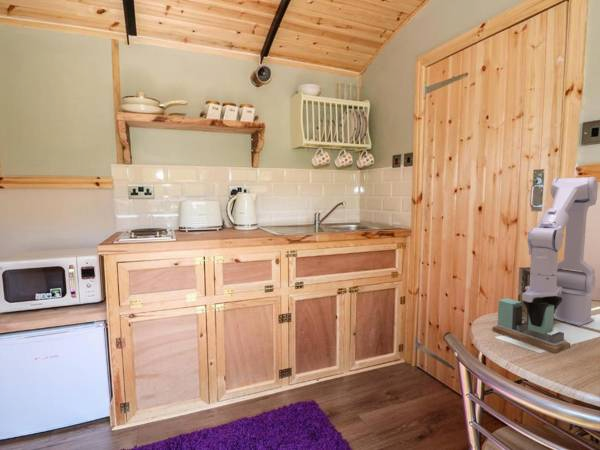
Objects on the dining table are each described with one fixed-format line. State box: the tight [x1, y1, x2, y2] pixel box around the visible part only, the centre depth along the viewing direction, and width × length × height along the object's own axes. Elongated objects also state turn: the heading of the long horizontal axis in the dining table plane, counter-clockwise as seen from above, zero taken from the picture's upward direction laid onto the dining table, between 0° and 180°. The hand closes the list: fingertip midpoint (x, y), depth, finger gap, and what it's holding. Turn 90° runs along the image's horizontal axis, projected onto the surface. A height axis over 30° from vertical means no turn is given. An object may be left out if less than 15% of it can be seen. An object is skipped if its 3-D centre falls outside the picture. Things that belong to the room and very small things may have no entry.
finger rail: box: [492, 297, 571, 354], centre depth 92 cm, size 7×16×9 cm, turn 27°
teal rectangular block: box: [527, 304, 555, 334], centre depth 89 cm, size 5×4×7 cm
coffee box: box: [517, 266, 555, 326], centre depth 104 cm, size 9×6×16 cm
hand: (541, 323), depth 89 cm, fingers closed on teal rectangular block, 4 cm apart
